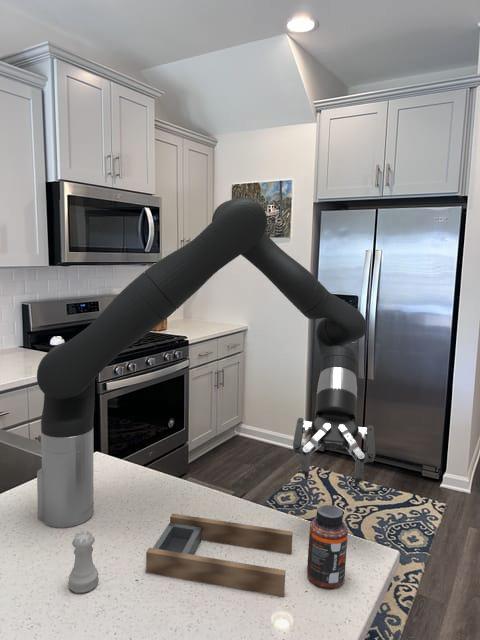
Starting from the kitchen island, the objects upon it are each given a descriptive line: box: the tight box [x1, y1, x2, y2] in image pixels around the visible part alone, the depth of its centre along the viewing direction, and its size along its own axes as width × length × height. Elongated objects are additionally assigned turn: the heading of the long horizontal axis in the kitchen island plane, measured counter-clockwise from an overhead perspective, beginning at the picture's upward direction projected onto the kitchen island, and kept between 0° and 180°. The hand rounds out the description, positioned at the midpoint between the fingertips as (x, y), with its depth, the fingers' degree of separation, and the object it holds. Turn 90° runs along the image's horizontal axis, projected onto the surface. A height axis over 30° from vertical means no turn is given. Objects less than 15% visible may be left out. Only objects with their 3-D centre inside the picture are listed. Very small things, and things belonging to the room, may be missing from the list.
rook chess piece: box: [67, 530, 100, 594], centre depth 72 cm, size 4×4×8 cm
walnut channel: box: [145, 513, 294, 598], centre depth 79 cm, size 22×12×4 cm, turn 78°
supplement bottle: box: [306, 504, 349, 589], centre depth 76 cm, size 6×6×11 cm
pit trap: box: [152, 522, 202, 555], centre depth 81 cm, size 6×9×2 cm, turn 168°
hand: (331, 479), depth 82 cm, fingers open, 8 cm apart
